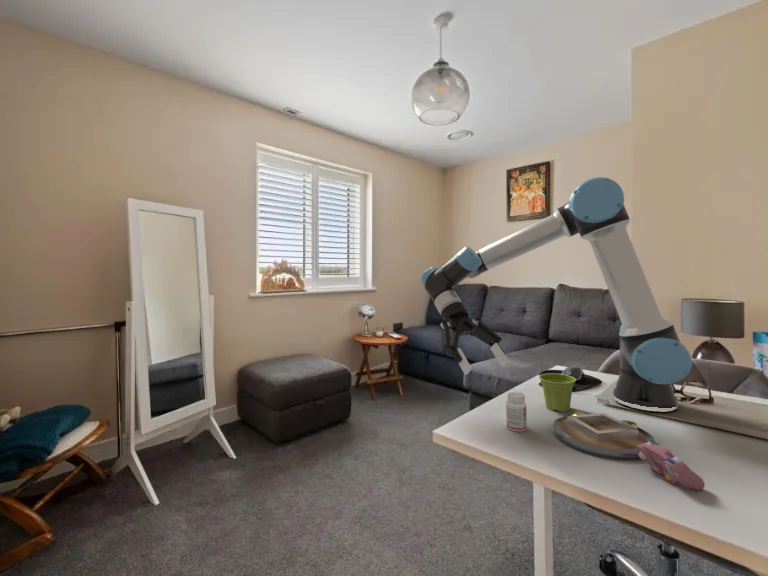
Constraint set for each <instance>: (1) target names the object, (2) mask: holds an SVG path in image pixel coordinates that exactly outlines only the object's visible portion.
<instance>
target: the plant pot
mask: <svg viewBox="0 0 768 576" xmlns="http://www.w3.org/2000/svg"><path fill="white" fill-rule="evenodd" d="M538 379H539V380H540V383H541V385H542V389H543V397H544V402H545V403H544V404H545V407H546V408H547V409H549V410H550V411H555V410H556V411H558V412H568V411H570V408H571V400H572V395H573V394H572V393H573V387H574V386H575V383H576V382H577V379H576V378H575V377H574V376H571V375H568V374H562V373H544V374H540V375H539V376H538Z"/></svg>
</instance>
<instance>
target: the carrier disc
mask: <svg viewBox="0 0 768 576" xmlns="http://www.w3.org/2000/svg"><path fill="white" fill-rule="evenodd" d="M552 427H553V429H552V430H553V435H554V436H555V438H556V439H557V440H559V441H560V442H561V443H563V444H564V445H566V446H567V447H569V448H571V449H574V450H575V451H579V452H581V453H584V454H588V455H592V456H593V457H600V458H605V459H611V460H617V461H618V460H620V461H621V460H622V461H636V460H642V459H641V458H640V457H639V455H638V454H639V453H638V452H637V449H636V447H637V446H639V445H640V444H643V443H647V442H648V441H649V442H651V444H653V445H656V439H655V438H654V437H653V436H652V435H651V433H649V432H647V431H646V430H644V429H642V428H641V427H638V424H637V423H636V422H634V421H631V420H627V419H626V420H624V419H622V420H620V419H618V418H615V417H613V416H611V415H609V414H607V413H606V412H600V413H599V412H598V413H588V414H587V413H585V412H582V411H573V412H572V413H571V415H563V416H561V417H559V418H557V419H555V420H554V422H553V425H552Z"/></svg>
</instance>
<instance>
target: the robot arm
mask: <svg viewBox="0 0 768 576" xmlns="http://www.w3.org/2000/svg"><path fill="white" fill-rule="evenodd" d="M624 203H625V193H624V190H623V189H622V187H621V186H620V184H619V183H618V182H617V181H615V180H613V179H612V178H608V177H604V176H603V177H601V176H599V177H598V176H597V177H592V178H589V179H587V180H585V181H582V182H581V183H580V184H578V185H577V187H576V188H574V190H573V191H572V193H571V195H570V197H569V201H568V202H567V203H565V204H563V205H562V206H559V207H558V208H555V211H554V212H553V214H551V215H548V216H547V217H545V218H542V219H540V220H538V221H536V222H534V223H533V224H530V225H528V226H526V227H524V228H521V229H520V230H518V231H516V232H513V233H511V234H510V235H508V236H505V237H503V238H501V239H499V240H497V241H495V242H492V243H490V244H488V245H487V246H484V247H483V248H481V249H479V250H476V251H475V250H474V249H472V248H471V247H470V246H464V247H463V248H462V249H461V250H459V251H458V252H457V253H455V255H453V257H451V258H450V259H449V260H448V261H447V262H446V263H445V264H443V265H442V266H441V267H438V266H432V267H431V266H430V268H429V269H426V270H425V271H423V273H422V274H421V282H422V285H423V287H424V290H425V292H426V293H427V294H428V296H429V297H430V299H431V300H432V302H433V304H434V306H435V308H436V309H437V312H438V313H439V314H440V315H441V318H442V319H443V320H442V322H441V323H440V324H439V329H440V331H441V343H442V344H441V347H442V352H443V353H444V354H446V353H447V355H448V356H452V358H453V359H454V361H455V362H456V363H457V364H458V365H459V367H460V368H461V370H462V372H463V373H464V375H465V376H466V375H468V374H469V373H470V371H471V370H473V368H472V366H471V364H470V363H469V361H468V360H467V358H466V356H465V354H464V352H463V350H462V348H461V347H460V348H459V347H458V344H459V339H460V336H461V337H462V336H468V335H469V336H471V337H475V338H476V339H478V340H480V341H482V342H483V343H485V344H486V345H488V346H489V347H490V351H491V352H492V354H493V355H494V357H495V358H496V361H497V362H498V363H499V365H500V366H501V368H506V366H507V365H508V364H509V363H510V360H509V359H508V356H506V354H505V352H504V350H503V348H502V346H501V345H500V342H501V341H502V340H503V339H502V337H501V336H500V335H498V334H497V333H496V332H495V331H494V330H492V329H491V328H489V327H488V325H486V324H485V323H484V322H482V320H481V319H480V318H479V317H478V316H475V318H474V319H471V318H470V317H469V312H468V310H467V308H466V306H465V304H464V303H463V302H462V300H461V298H460V297H459V296H458V294H457V292H456V291H455V289H454V288H455V287H456V286H458V285H459V284H460V283H461V282H463V281H464V280H465V279H466V278H468V279H470V278H471V279H473V278H474V279H475V277H478V276H480V275H481V274H483V273H485V272H487V271H489V270H491V269H494V268H496V267H498V266H500V265H503V264H506V263H507V262H509V261H512V260H514V259H515V258H518V257H520V256H523V255H525V254H528V253H529V252H532V251H534V250H537V249H538V248H541V247H542V246H545V245H547V244H549V243H552V242H553V241H556V240H558V239H561V238H563V237H568V238H571V237H573V236H575V235H577V234H578V235H580V238H581V239H582V240H584V241H585V240H586V241H588V242H589V244H590V246H591V248H592V251H593V253H594V256H595V258H596V262H597V264H598V267H599V268H600V271H601V274H602V276H603V279H604V281H605V284H606V286H607V289H608V292H609V294H610V297H611V299H612V303H613V305H614V307H615V310H616V312H617V315H618V318H619V320H620V322H621V325H620V327H619V332H618V335H619V376H618V379H617V382H616V385H615V388H614V389H613V391H612V396H613V395H614V396H615V397H616V398H618V399H620V400H622V401H624V402H628V403H631V404H637V405H640V406H646V407H658V408H672V407H676V406H677V405H678V406H679V401H678V398H677V396H675V391H674V388H673V385H672V384H675V383H677V382H680V381H681V380H683V379H684V378H686V376H687V375H688V374H689V372H690V371H691V370H692V369H691V368H692V363H693V361H692V356H691V353H690V351H689V350H688V349H687V347H686V346H685V345H684V344H683V343H682V342H681V340H680V339H679V336H678V334H677V331H676V328H675V325H674V324H673V322H672V321H671V320H667V319H666V318H665V317H662V316H663V315H662V314H661V311H660V310H659V309H660V308H659V307H658V305H657V302H656V299H655V297H654V295H653V291H652V289H651V287H650V284H649V282H648V280H647V277H646V274H645V272H644V270H643V268H642V267H643V266H642V264H641V261H640V260H639V257H638V255H637V252H636V250H635V247H634V245H633V243H632V240H631V238H630V235H629V233H628V230H627V228H628V226H629V224H630V222H631V218H630V216H629V213H628V211H627V209H626V206H625V204H624ZM450 330H451V331H452V335H451V336H450Z"/></svg>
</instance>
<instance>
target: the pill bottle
mask: <svg viewBox="0 0 768 576" xmlns="http://www.w3.org/2000/svg"><path fill="white" fill-rule="evenodd" d="M505 411H506V412H505V416H506V419H505V420H506V421H505V422H506V423H505V424H506V428H507V429H508V430H510V431H513V432H525V431H526V430H527V428H528V427H527V423H528V422H527V403H526V397H525V394H524V393H521V392H519V391H517V392H516V391H513V392H512V391H511V392H508V393H507V401H506V403H505Z"/></svg>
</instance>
